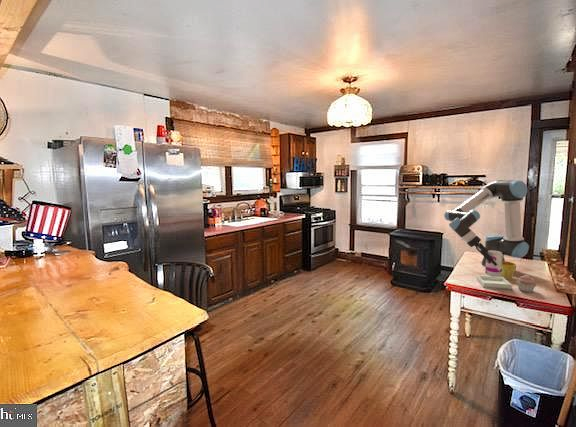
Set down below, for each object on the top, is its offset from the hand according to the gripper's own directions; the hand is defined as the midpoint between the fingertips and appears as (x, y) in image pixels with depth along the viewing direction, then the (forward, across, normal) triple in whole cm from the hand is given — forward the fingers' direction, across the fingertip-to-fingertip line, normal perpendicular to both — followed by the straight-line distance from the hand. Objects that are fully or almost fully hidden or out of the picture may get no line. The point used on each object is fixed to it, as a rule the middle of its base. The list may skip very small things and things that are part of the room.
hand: (500, 267), depth 180 cm
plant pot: (+11, -20, -5) cm, 24 cm away
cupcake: (+17, +2, 0) cm, 18 cm away
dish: (+6, 0, -10) cm, 12 cm away
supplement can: (+2, 0, -7) cm, 7 cm away
